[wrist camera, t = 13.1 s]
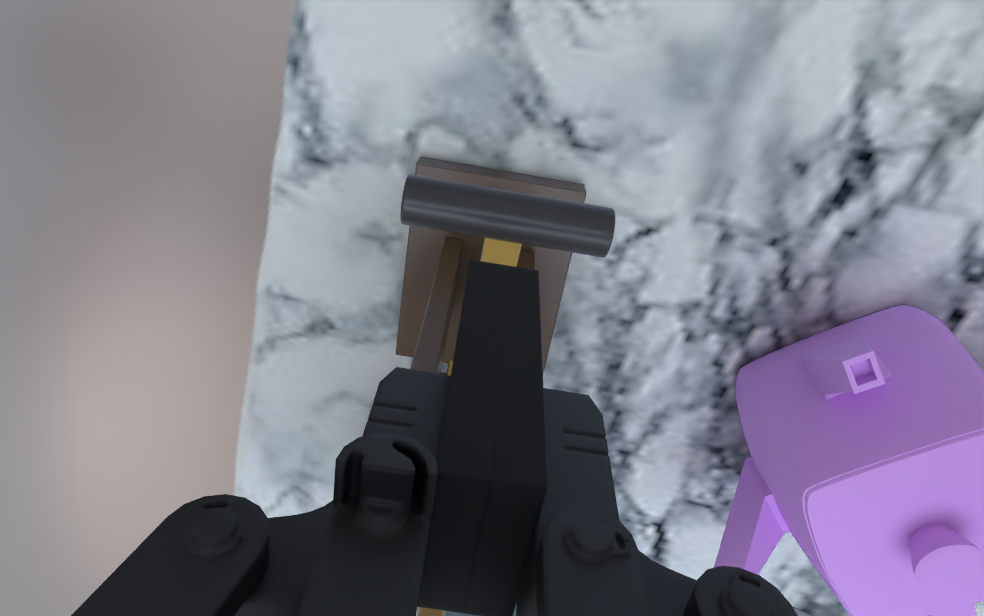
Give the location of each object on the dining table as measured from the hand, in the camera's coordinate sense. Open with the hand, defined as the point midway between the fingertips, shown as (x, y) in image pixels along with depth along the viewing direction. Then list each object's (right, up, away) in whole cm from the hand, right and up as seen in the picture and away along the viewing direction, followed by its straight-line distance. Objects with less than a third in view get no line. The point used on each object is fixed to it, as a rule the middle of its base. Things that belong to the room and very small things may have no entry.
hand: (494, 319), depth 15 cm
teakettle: (+22, -6, +28) cm, 36 cm away
